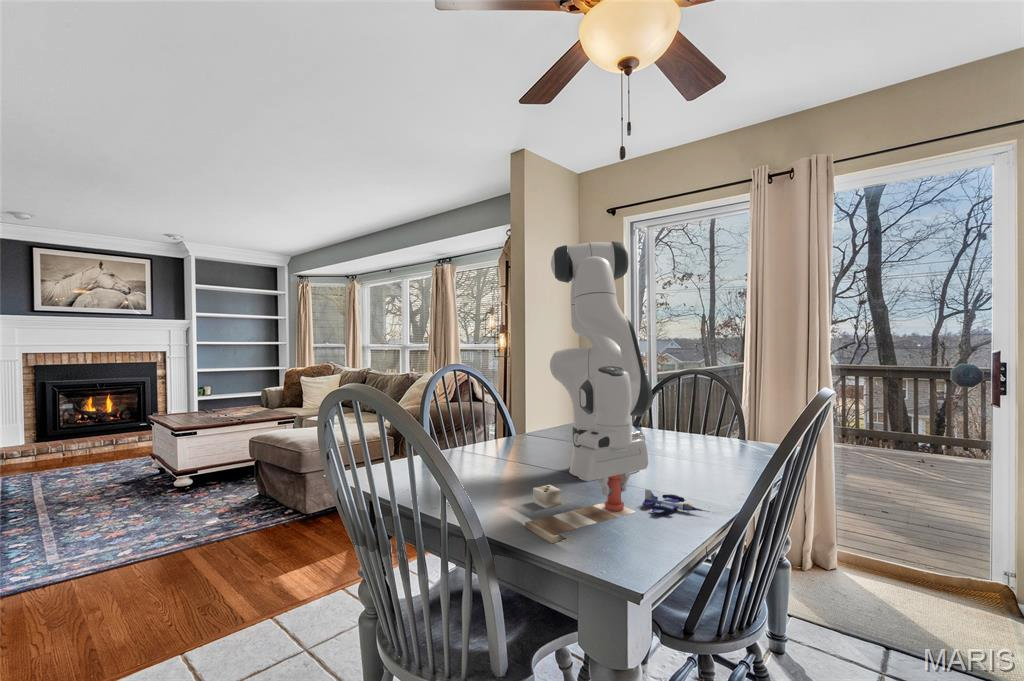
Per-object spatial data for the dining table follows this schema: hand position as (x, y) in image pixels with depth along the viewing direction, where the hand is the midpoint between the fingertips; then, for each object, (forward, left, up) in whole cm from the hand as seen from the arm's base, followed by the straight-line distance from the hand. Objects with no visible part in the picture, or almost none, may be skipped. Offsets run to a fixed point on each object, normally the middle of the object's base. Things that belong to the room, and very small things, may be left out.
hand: (614, 493), depth 115 cm
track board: (+9, 0, -5) cm, 10 cm away
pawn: (0, 0, -4) cm, 4 cm away
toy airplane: (-11, +8, -5) cm, 15 cm away
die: (+11, -12, -5) cm, 17 cm away
